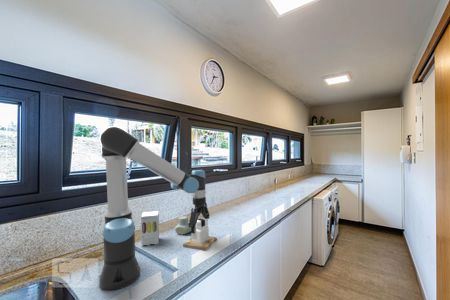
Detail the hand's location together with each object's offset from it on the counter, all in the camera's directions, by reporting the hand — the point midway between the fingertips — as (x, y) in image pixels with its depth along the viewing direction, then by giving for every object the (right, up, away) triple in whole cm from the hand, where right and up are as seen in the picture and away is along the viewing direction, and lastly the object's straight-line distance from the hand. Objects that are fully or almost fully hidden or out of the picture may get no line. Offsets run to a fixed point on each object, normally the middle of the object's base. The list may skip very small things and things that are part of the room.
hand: (200, 234), depth 116 cm
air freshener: (-13, -6, +16) cm, 21 cm away
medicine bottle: (0, -4, 0) cm, 4 cm away
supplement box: (-30, -6, +3) cm, 31 cm away
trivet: (0, -5, 0) cm, 5 cm away
